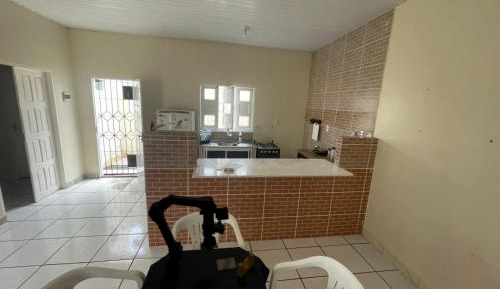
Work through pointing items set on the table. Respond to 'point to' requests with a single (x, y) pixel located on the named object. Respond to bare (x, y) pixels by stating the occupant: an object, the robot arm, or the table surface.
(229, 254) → the table surface
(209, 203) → the robot arm
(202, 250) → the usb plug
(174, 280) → the table surface
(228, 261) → the trivet
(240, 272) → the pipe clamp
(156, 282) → the table surface
